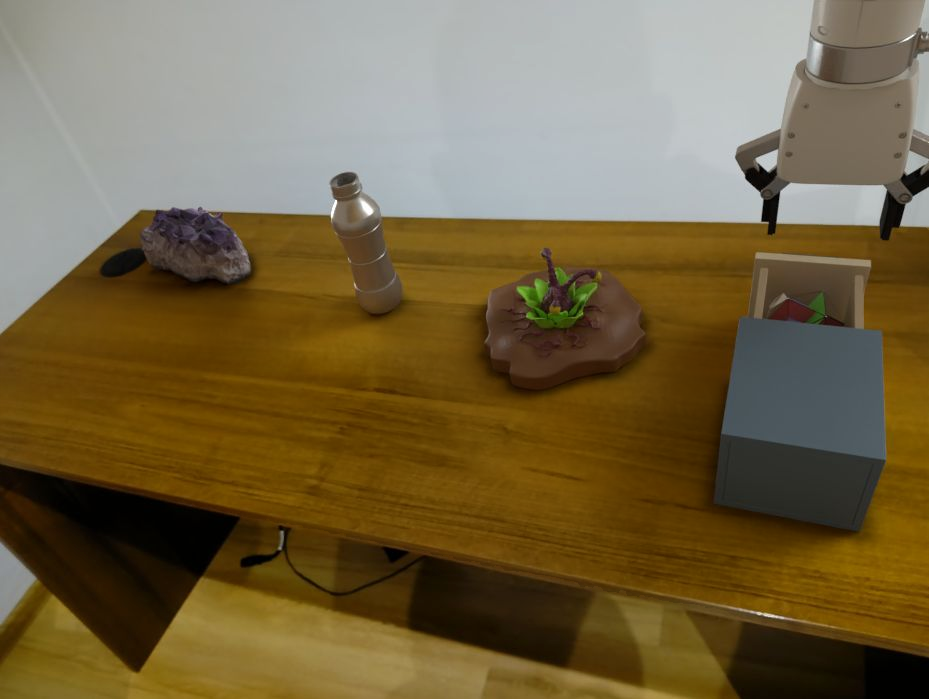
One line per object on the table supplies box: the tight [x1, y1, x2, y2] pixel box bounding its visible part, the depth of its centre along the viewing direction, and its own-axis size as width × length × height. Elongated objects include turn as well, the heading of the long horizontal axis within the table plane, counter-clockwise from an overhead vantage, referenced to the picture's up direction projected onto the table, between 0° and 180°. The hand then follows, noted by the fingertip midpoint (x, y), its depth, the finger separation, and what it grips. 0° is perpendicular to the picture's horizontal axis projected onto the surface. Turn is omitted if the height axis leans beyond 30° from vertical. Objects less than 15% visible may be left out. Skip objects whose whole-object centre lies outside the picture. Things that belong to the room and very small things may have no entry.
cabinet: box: [713, 316, 887, 533], centre depth 68 cm, size 16×13×11 cm
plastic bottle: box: [328, 171, 404, 315], centre depth 94 cm, size 6×7×20 cm
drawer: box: [747, 251, 872, 329], centre depth 78 cm, size 19×11×9 cm, turn 159°
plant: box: [483, 247, 647, 391], centre depth 87 cm, size 20×20×11 cm
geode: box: [139, 206, 253, 285], centre depth 114 cm, size 20×12×10 cm, turn 60°
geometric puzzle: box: [766, 290, 846, 327], centre depth 77 cm, size 7×7×8 cm
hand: (826, 229), depth 69 cm, fingers open, 9 cm apart
